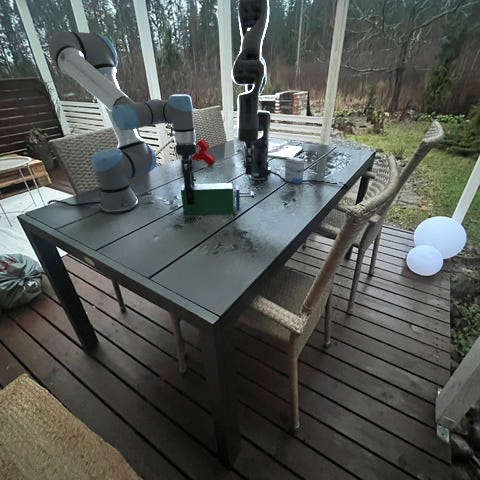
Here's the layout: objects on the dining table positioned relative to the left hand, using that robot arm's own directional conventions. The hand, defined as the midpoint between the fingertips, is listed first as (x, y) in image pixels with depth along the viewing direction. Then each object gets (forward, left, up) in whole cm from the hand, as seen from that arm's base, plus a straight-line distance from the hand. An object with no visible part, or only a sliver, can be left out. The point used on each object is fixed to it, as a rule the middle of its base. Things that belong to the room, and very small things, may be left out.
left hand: (191, 200), depth 112 cm
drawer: (+13, +3, -4) cm, 14 cm away
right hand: (+22, +5, +12) cm, 26 cm away
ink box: (+43, +41, -5) cm, 60 cm away
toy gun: (-14, +64, -5) cm, 66 cm away
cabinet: (+7, +1, -5) cm, 8 cm away
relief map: (+31, +100, -5) cm, 104 cm away
